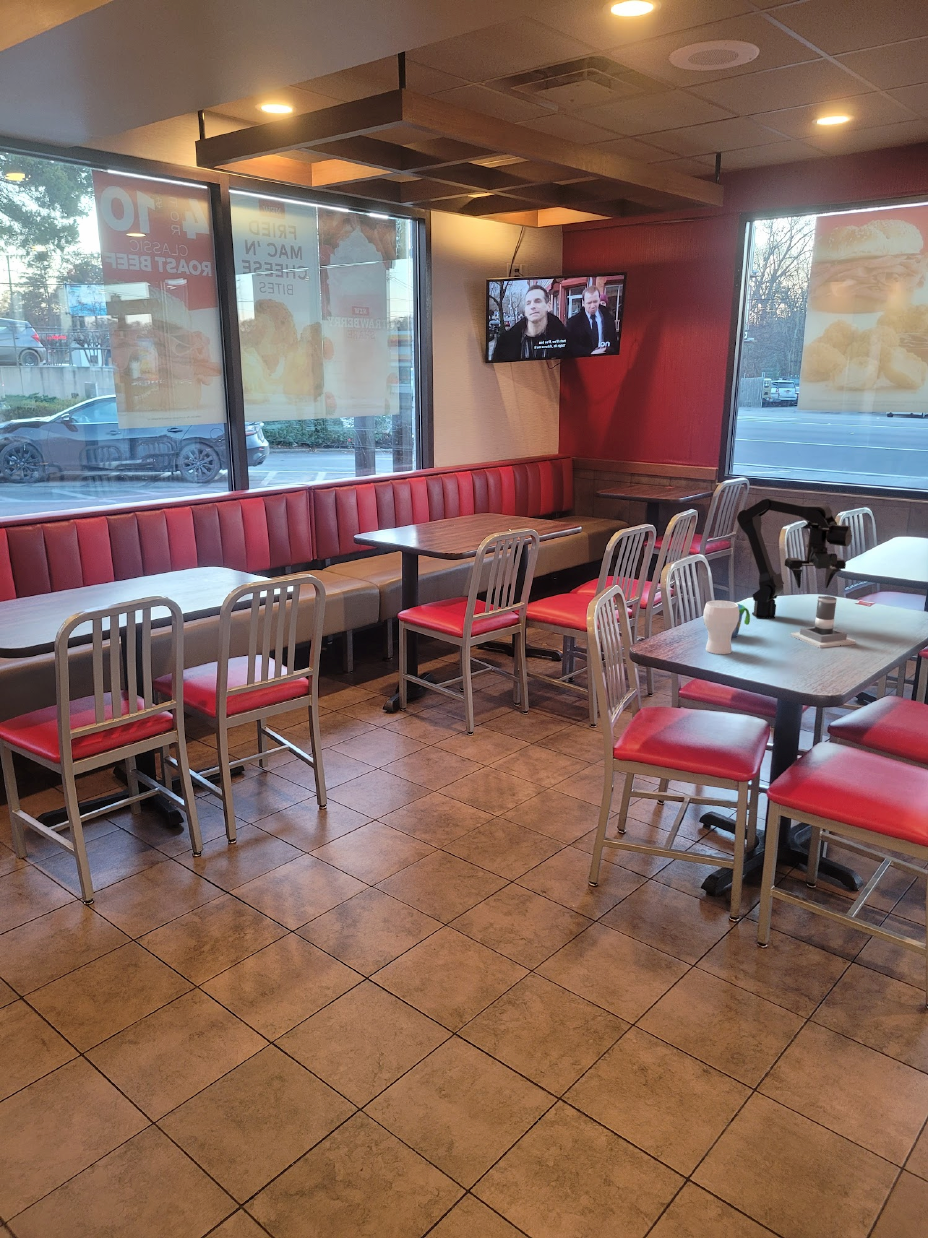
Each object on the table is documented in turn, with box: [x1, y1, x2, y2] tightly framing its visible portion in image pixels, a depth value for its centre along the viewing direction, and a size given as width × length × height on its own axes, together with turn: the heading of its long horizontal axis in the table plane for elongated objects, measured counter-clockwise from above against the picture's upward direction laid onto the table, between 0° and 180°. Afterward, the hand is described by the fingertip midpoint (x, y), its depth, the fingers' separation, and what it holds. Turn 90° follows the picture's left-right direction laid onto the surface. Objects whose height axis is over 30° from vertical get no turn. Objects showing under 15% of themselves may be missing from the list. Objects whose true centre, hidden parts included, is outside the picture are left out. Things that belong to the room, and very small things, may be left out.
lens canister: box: [814, 595, 837, 635], centre depth 289 cm, size 6×6×13 cm
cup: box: [703, 600, 739, 655], centre depth 278 cm, size 11×11×15 cm
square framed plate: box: [790, 626, 857, 649], centre depth 291 cm, size 14×14×3 cm
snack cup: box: [703, 602, 751, 638], centre depth 295 cm, size 16×10×10 cm
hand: (812, 588), depth 305 cm, fingers open, 9 cm apart
